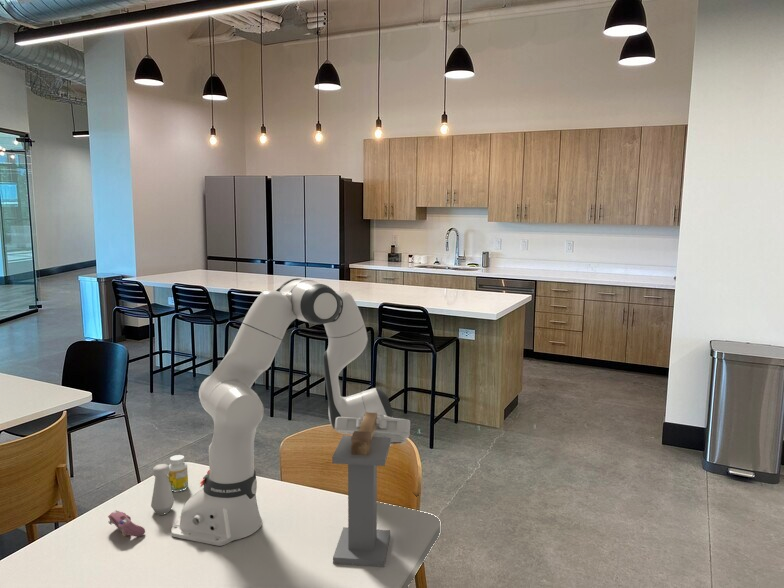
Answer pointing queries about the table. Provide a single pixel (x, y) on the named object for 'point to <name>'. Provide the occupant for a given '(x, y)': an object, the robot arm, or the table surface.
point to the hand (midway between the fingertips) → (369, 421)
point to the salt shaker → (162, 490)
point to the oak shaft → (364, 435)
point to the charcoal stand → (362, 505)
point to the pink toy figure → (125, 524)
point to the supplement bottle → (178, 473)
